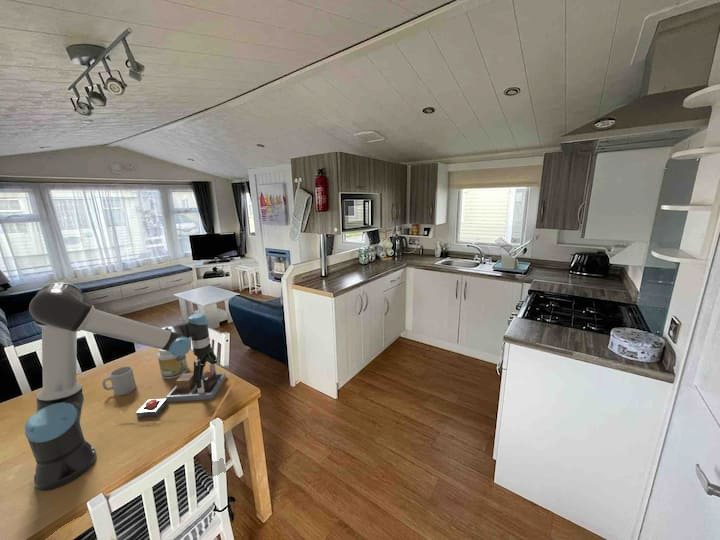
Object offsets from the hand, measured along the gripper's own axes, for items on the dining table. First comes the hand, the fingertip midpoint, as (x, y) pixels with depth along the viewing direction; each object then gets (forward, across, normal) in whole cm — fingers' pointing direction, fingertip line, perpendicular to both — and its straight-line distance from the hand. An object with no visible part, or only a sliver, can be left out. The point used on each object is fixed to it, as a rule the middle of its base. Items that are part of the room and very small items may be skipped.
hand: (207, 383), depth 138 cm
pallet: (+4, 0, +5) cm, 6 cm away
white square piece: (+4, -14, +18) cm, 23 cm away
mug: (+4, +3, +44) cm, 44 cm away
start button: (+2, -14, +18) cm, 23 cm away
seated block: (+2, 0, +10) cm, 10 cm away
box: (+3, 0, 0) cm, 3 cm away
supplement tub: (+4, +16, +25) cm, 30 cm away
